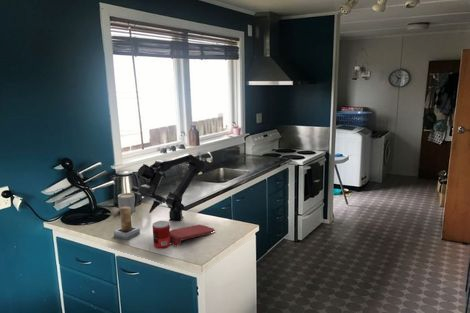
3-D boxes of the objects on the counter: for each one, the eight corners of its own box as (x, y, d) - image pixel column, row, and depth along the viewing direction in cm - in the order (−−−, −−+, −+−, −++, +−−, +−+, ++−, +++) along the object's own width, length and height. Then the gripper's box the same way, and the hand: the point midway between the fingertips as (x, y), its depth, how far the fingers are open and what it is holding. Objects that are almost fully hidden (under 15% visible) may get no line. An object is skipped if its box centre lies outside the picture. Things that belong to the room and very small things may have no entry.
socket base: (127, 230, 195) (126, 225, 194) (139, 233, 190) (139, 228, 190) (114, 236, 187) (113, 230, 186) (126, 239, 182) (126, 234, 182)
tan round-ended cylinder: (132, 230, 191) (131, 206, 189) (130, 233, 186) (129, 209, 184) (122, 230, 191) (121, 206, 188) (120, 234, 186) (119, 209, 183)
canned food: (173, 243, 178) (172, 221, 176) (165, 249, 171) (164, 227, 169) (159, 241, 181) (157, 219, 179) (150, 247, 173) (149, 225, 171)
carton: (199, 233, 200) (163, 240, 181) (200, 224, 200) (164, 231, 181) (215, 238, 193) (179, 247, 173) (216, 229, 192) (180, 237, 173)
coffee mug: (126, 214, 219) (125, 198, 218) (115, 211, 225) (114, 195, 223) (143, 208, 230) (142, 193, 228) (132, 205, 236) (131, 190, 234)
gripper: (132, 173, 192) (120, 201, 189) (163, 185, 187) (151, 214, 184) (141, 178, 202) (130, 204, 199) (171, 189, 197) (159, 216, 194)
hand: (142, 209), depth 194 cm, fingers open, 9 cm apart
